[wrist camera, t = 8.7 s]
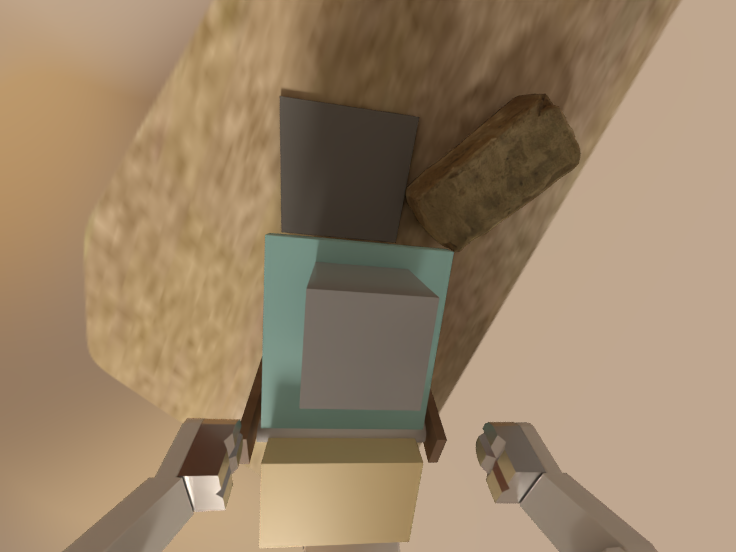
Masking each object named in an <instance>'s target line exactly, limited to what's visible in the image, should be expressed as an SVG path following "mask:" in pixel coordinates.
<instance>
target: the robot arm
mask: <svg viewBox="0 0 736 552" xmlns="http://www.w3.org/2000/svg"><path fill="white" fill-rule="evenodd" d="M240 429H241V421H240V420H239V419H201V418H187V419H186V420H185V422H184V423H183V424H182V426H181V428H180V430H179V431H178V433H177V435H176V437H175V439H174V441H173V443H172V445H171V447H170V449H169V451H168V453H167V454H166V456H165V458H164V460H163V462H162V464H161V466H160V468H159V470H158V472H157V474H156V476H155V477H154V478H148V479H147V480H146V481H144V482H143V483H142V484H141V485H140V486H139V487H137V488H136V489H135V490H134V491H133V492H131V493H130V494H129V495H128V496H127V497H126V498H124V499H123V501H121V502H120V503H119V504H117V505H116V506H115V507H114V508H113V509H112V510H110V511H109V512H108V513H107V514H106V515H105V516H103V517H102V518H101V519H100V520H99V521H98V522H97V523H95V524H94V525H93V526H92V527H91V528H89V529H88V530H87V531H86V532H85V533H84V534H82V536H80V537H79V538H78V539H77V540H75V541H74V542H73V543H72V544H71V545H70V546H68V547H67V548H66V549H65V550H64V551H63V552H162V551H163V550H164V549H165V548H166V546H167V545H168V544H169V543H170V542H171V540H172V539H173V538H174V537H175V536H176V534H177V533H178V532H179V531H180V530H181V528H182V527H183V526H184V525H185V524H186V523H187V521H188V520H189V519H190V518H191V517H192V515H193V512H199V511H217V510H225V509H226V506H227V503H228V499H229V496H230V492H231V489H232V486H233V481H232V473H233V472H234V471H235V470H236V469H237V468H238V466H239V462H240V459H241V454H242V448H243V435H242V434H241V433H239V432H240ZM483 430H484V433H483V434H482V435H480V436H479V437H478V439H477V441H476V454H477V458H478V461H479V464H480V466H481V467H482V468H483V469H484V470H485V471H486V472H487V478H486V482H487V484H488V487H489V489H490V492H491V494H492V497H493V499H494V502H495V503H520V506H521V507H522V509H523V510H524V511H525V512H526V513H527V514H528V516H529V517H530V518H531V519H532V520H533V521H534V523H536V525H537V526H538V527H539V528H540V530H541V531H542V532H543V533H544V534H545V535H546V536H547V538H548V539H549V540H550V541H551V542H552V544H553V545H554V546H555V547H556V548H557V549H558V551H559V552H657V550H656V549H655V548H654V546H653V545H652V544H651V543H650V542H649V541H647V540H646V539H645V538H644V537H643V536H642V535H640V534H639V533H638V532H637V531H636V530H634V529H633V528H632V527H631V526H630V525H628V524H627V523H626V522H625V521H624V520H622V519H621V518H620V517H618V515H616V514H615V513H614V512H613V511H612V510H610V509H609V508H608V507H607V506H606V505H604V504H603V503H602V502H601V501H599V500H598V499H597V498H596V497H595V496H593V495H592V494H591V493H590V492H589V491H588V490H586V489H585V488H584V487H583V486H581V485H580V484H579V483H578V482H577V481H576V480H574V479H573V478H572V477H571V476H569V475H568V474H567V473H562V472H561V470H560V468H559V467H558V465H557V463H556V462H555V460H554V459H553V457H552V455H551V454H550V452H549V451H548V449H547V447H546V446H545V444H544V443H543V441H542V439H541V437H540V436H539V434H538V433H537V431H536V429H535V428H534V426H533V425H531V424H530V423H526V422H524V423H522V422H521V423H514V422H488V423H486V424H485V425H484V427H483ZM303 549H304V552H400V547H399V542H392V543H369V544H345V545H322V546H303Z"/></svg>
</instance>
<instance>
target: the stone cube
mask: <svg viewBox="0 0 736 552" xmlns="http://www.w3.org/2000/svg"><path fill="white" fill-rule="evenodd" d="M438 304H439V297H438V296H437V295H436V294H435V293H434V292H433V291H432V290H430V289H429V288H428V287H427V286H426V285H425V284H424V283H423V282H422V281H421V280H419V279H418V278H417V277H416V276H415V275H414V274H413V273H412V272H411V271H410V270H409V269H401V268H389V267H376V266H364V265H352V264H340V263H327V262H315V265H314V267H313V270H312V273H311V276H310V279H309V282H308V285H307V288H306V302H305V319H304V336H303V353H302V371H301V388H300V405H299V409H350V410H408V411H420V410H421V404H422V398H423V392H424V386H425V381H426V375H427V369H428V363H429V357H430V351H431V345H432V339H433V333H434V328H435V322H436V316H437V310H438Z"/></svg>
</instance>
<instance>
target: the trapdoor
mask: <svg viewBox="0 0 736 552" xmlns="http://www.w3.org/2000/svg"><path fill="white" fill-rule="evenodd" d="M453 254H454V252H453V251H450V250H448V249H439V248H429V247H418V246H407V245H396V244H385V243H374V242H363V241H352V240H341V239H330V238H319V237H308V236H297V235H286V234H275V233H268V234H266V235H265V267H264V311H263V356H262V401H261V417H260V420H259V423H258V428H257V436H256V440H257V442H267V445H266V449H265V452H264V456H263V459H262V463H261V494H260V537H259V538H260V539H259V548H275V547H297V546H298V547H299V546H322V545H345V544H369V543H392V542H409V540H410V534H411V528H412V523H413V517H414V512H415V506H416V500H417V495H418V490H419V484H420V479H421V473H422V468H423V460H422V457H421V454H420V451H419V448H418V445H417V442H425V440H426V426H425V422H424V421H425V415H426V409H427V403H428V398H429V392H430V386H431V381H432V375H433V369H434V363H435V358H436V352H437V346H438V340H439V335H440V329H441V323H442V317H443V312H444V306H445V300H446V295H447V289H448V283H449V277H450V272H451V266H452V260H453ZM315 262H327V263H340V264H352V265H364V266H376V267H389V268H401V269H409V270H410V271H411V272H412V273H413V274H414V275H415V276H416V277H417V278H418V279H419V280H421V281H422V282H423V283H424V284H425V285H426V286H427V287H428V288H429V289H430V290H432V291H433V292H434V293H435V294H436V295H437V296H438V297H439V304H438V310H437V316H436V322H435V328H434V333H433V339H432V345H431V351H430V357H429V363H428V369H427V375H426V381H425V386H424V392H423V398H422V404H421V410H420V411H408V410H350V409H299V405H300V388H301V371H302V353H303V336H304V319H305V302H306V288H307V285H308V282H309V279H310V276H311V273H312V270H313V267H314V265H315Z"/></svg>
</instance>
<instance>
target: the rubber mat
mask: <svg viewBox="0 0 736 552" xmlns="http://www.w3.org/2000/svg"><path fill="white" fill-rule="evenodd" d="M418 121H419V117H415V116H409V115H402V114H396V113H389V112H382V111H376V110H369V109H362V108H356V107H349V106H342V105H336V104H329V103H322V102H316V101H309V100H303V99H296V98H289V97H283V96H280V154H281V226H282V232H287V233H298V234H308V235H319V236H330V237H341V238H352V239H363V240H373V241H384V242H395V243H396V238H397V233H398V227H399V222H400V217H401V211H402V206H403V201H404V196H405V190H406V185H407V180H408V174H409V169H410V164H411V158H412V153H413V148H414V142H415V137H416V132H417V126H418Z"/></svg>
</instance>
